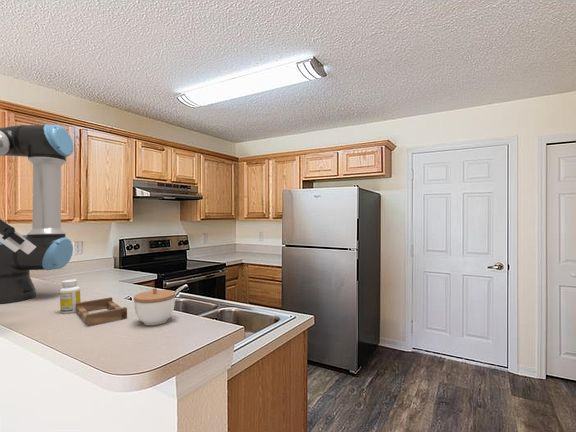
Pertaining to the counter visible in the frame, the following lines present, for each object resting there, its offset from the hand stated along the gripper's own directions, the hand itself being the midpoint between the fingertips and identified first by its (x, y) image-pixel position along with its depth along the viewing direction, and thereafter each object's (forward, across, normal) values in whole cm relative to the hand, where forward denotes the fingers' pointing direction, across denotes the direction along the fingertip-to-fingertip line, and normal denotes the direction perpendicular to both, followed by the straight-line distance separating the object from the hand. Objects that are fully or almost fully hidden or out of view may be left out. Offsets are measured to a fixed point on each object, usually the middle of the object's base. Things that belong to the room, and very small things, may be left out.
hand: (25, 249), depth 97 cm
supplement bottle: (+23, -1, -6) cm, 24 cm away
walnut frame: (+25, +12, -4) cm, 28 cm away
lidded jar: (+30, +32, +1) cm, 44 cm away
